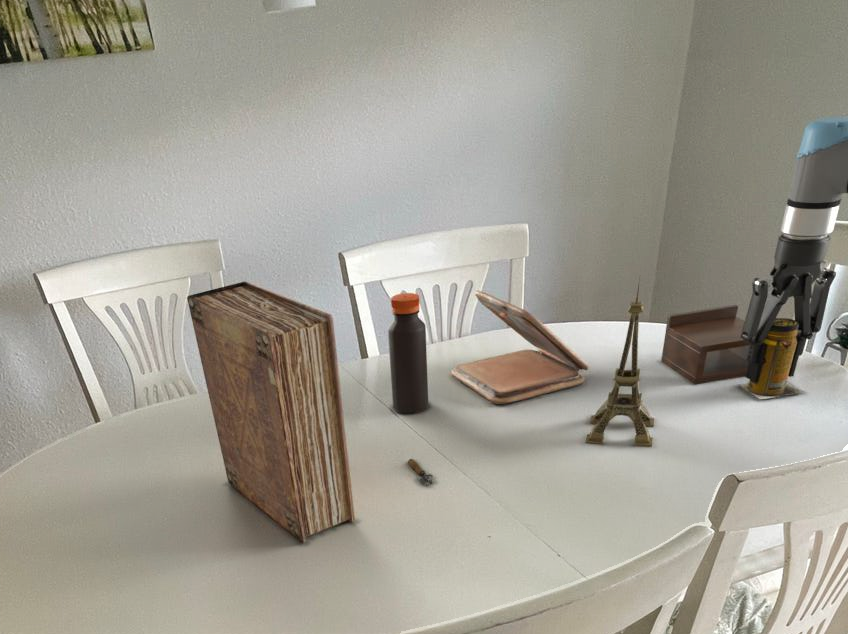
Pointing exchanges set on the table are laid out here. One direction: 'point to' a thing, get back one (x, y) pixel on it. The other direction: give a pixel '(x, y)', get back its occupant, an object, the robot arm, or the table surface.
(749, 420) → the table surface
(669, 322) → the box
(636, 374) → the eiffel tower
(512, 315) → the case
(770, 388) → the condiment
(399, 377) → the vinegar
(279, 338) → the book
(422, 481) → the can opener
